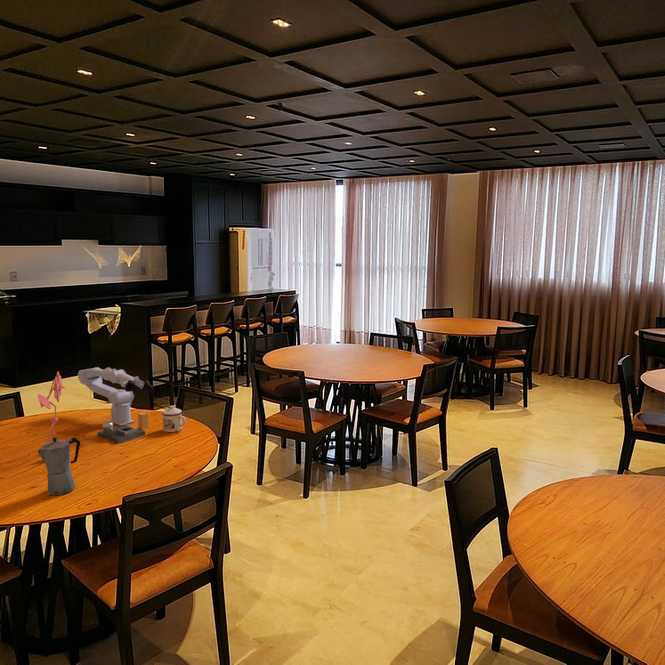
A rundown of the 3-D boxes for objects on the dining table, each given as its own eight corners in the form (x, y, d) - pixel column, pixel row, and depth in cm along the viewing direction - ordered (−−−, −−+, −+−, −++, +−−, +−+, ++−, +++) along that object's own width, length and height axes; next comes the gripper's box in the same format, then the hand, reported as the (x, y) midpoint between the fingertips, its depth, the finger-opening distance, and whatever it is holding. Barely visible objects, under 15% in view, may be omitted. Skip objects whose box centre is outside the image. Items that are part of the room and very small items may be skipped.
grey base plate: (97, 436, 267) (97, 423, 266) (124, 428, 278) (124, 416, 277) (118, 443, 257) (117, 430, 256) (145, 435, 268) (144, 422, 267)
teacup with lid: (158, 431, 274) (157, 407, 272) (170, 425, 282) (169, 402, 280) (180, 434, 269) (179, 410, 267) (191, 429, 278) (190, 405, 276)
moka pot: (33, 494, 206) (29, 439, 203) (74, 479, 219) (70, 428, 216) (49, 501, 201) (44, 445, 198) (89, 485, 213) (86, 433, 210)
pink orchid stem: (37, 466, 231) (32, 380, 225) (49, 445, 255) (45, 366, 250) (79, 463, 235) (75, 378, 230) (87, 442, 259) (84, 365, 254)
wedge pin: (138, 428, 279) (137, 413, 278) (144, 426, 281) (143, 412, 280) (142, 429, 277) (141, 415, 276) (148, 427, 279) (147, 413, 278)
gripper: (118, 373, 274) (135, 381, 266) (143, 374, 286) (160, 382, 278) (114, 387, 274) (131, 396, 267) (139, 388, 286) (157, 396, 279)
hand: (146, 390), depth 272 cm, fingers open, 7 cm apart
